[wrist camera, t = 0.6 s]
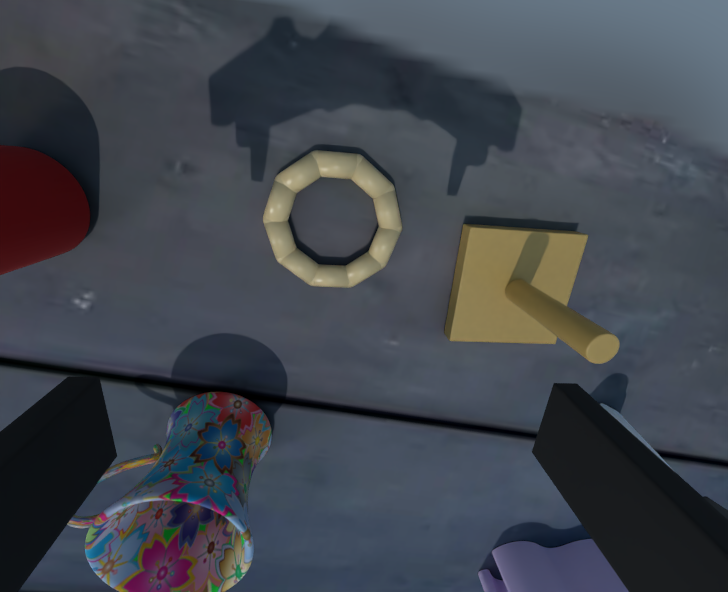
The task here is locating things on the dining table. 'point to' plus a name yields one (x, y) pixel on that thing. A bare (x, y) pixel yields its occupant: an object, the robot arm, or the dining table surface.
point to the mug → (185, 503)
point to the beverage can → (38, 208)
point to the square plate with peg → (522, 290)
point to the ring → (332, 167)
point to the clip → (551, 569)
